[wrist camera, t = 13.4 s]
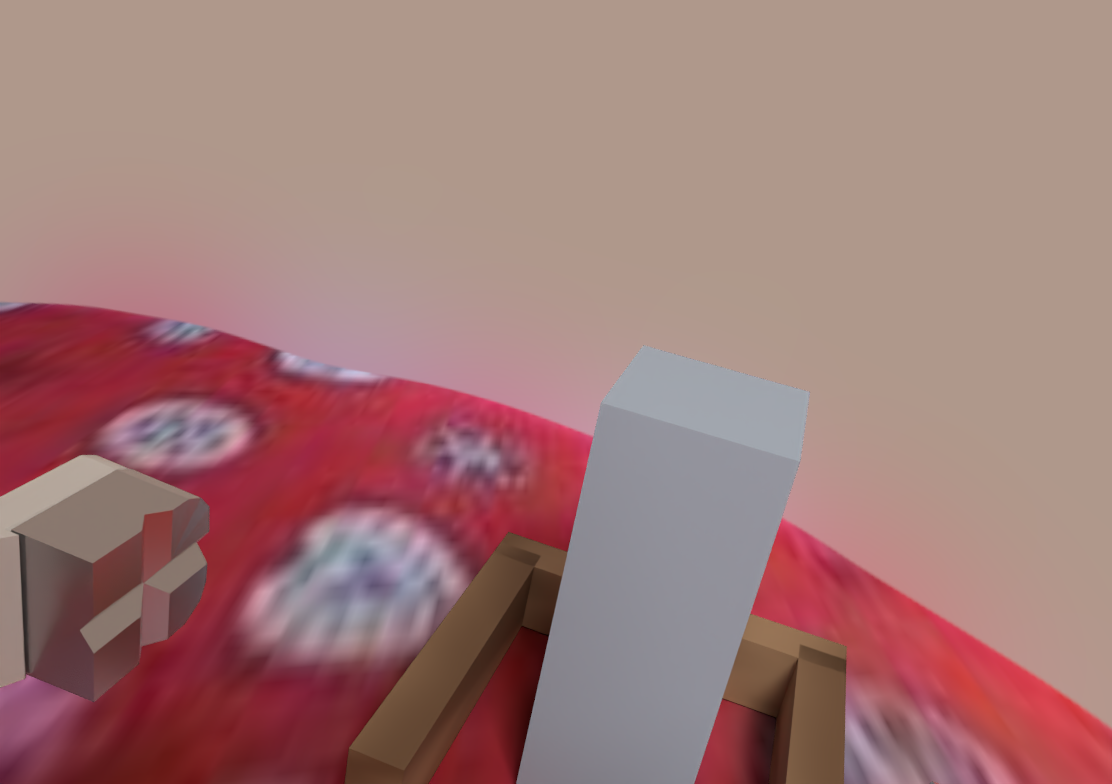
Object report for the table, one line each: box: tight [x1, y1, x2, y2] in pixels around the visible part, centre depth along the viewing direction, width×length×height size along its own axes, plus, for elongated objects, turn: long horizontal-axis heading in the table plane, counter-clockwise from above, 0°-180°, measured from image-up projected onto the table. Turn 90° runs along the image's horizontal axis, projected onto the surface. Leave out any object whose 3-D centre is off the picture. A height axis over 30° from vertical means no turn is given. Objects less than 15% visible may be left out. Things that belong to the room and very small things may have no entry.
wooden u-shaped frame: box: [345, 532, 847, 784], centre depth 26 cm, size 12×11×2 cm
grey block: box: [516, 345, 810, 784], centre depth 24 cm, size 4×4×12 cm
